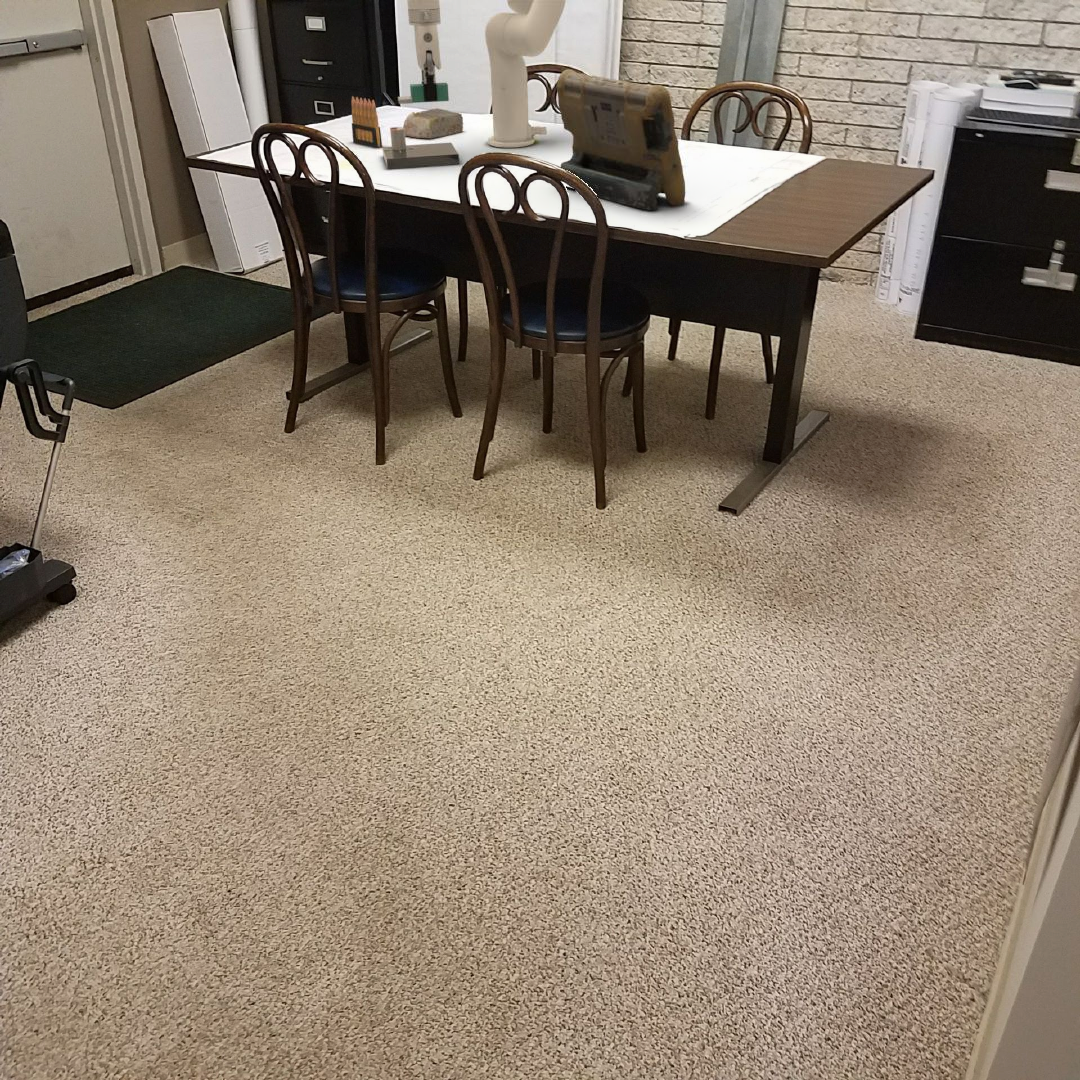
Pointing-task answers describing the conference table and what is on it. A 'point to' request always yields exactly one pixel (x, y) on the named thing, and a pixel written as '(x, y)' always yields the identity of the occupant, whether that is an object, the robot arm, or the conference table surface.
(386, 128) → the conference table surface
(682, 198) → the tablet
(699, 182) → the conference table surface
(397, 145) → the dial
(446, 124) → the geological specimen
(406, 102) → the teal post
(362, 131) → the ammunition clip
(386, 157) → the hob
